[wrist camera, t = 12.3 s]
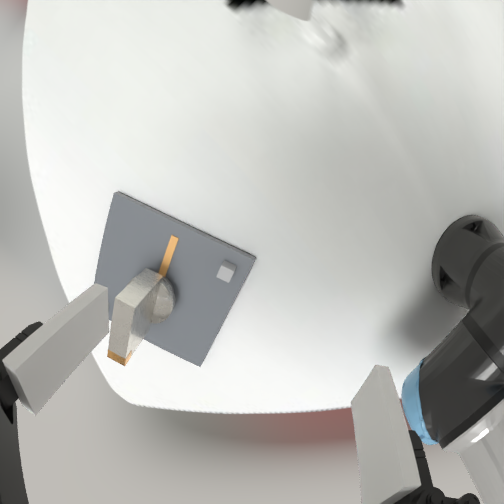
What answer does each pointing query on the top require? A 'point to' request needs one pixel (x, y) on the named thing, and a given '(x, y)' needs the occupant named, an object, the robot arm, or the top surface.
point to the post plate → (172, 273)
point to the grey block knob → (138, 312)
